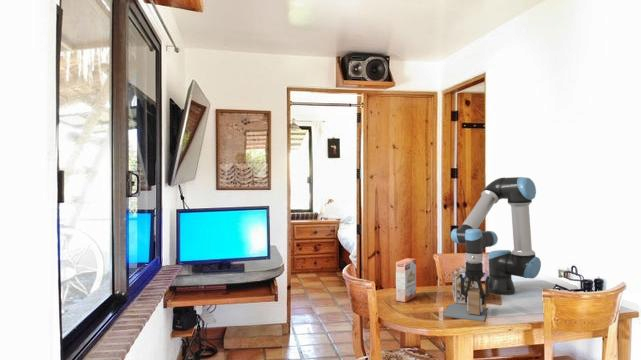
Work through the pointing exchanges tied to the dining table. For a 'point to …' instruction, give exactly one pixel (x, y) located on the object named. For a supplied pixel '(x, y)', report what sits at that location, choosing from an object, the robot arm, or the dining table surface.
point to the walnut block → (474, 301)
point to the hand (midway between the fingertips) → (475, 310)
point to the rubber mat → (464, 313)
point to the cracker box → (405, 279)
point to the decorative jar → (457, 285)
